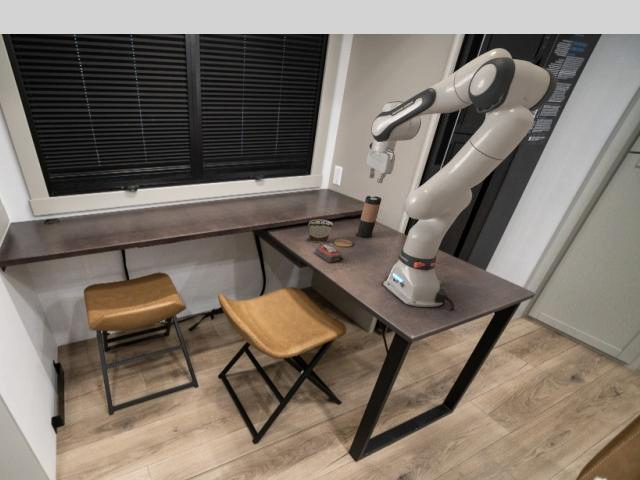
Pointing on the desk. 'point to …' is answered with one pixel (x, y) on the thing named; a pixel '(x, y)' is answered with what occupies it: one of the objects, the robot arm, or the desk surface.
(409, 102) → the robot arm
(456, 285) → the desk surface
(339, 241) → the cork coaster
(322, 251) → the walkie-talkie
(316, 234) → the food container
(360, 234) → the travel mug
